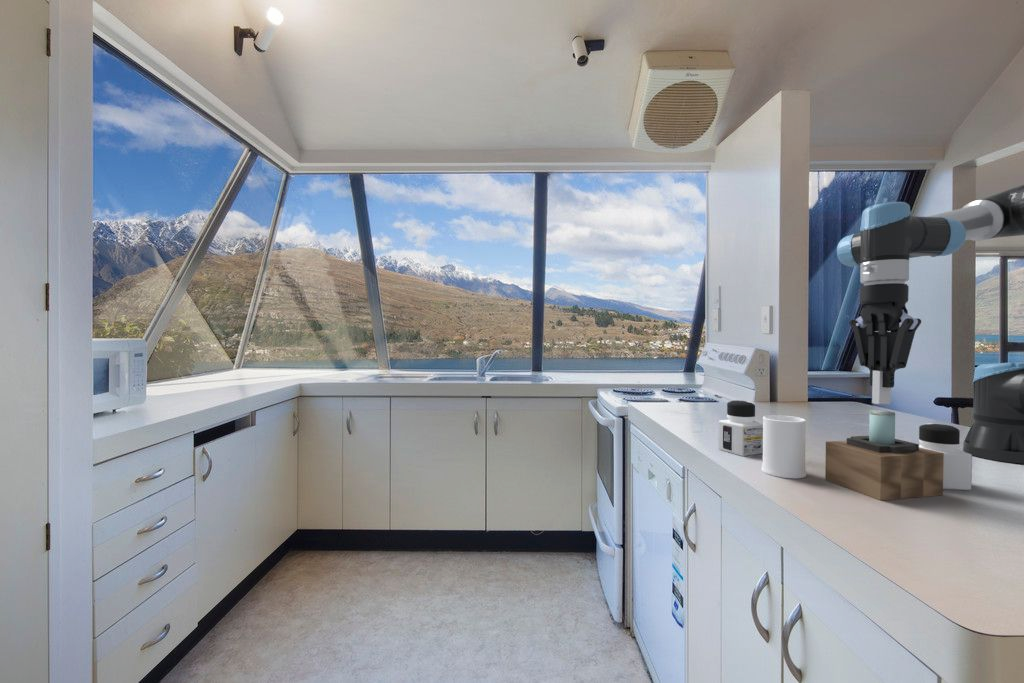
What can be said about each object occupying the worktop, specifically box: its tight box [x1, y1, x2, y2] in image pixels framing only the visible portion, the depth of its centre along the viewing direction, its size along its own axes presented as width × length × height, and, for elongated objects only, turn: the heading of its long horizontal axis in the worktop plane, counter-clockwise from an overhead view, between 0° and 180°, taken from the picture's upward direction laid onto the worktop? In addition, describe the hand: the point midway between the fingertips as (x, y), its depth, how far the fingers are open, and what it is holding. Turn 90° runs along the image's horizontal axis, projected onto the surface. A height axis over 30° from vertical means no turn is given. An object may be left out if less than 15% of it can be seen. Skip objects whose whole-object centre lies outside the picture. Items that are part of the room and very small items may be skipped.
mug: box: [761, 414, 807, 480], centre depth 104 cm, size 12×8×12 cm
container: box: [717, 399, 763, 457], centre depth 120 cm, size 8×8×13 cm
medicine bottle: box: [918, 422, 973, 491], centre depth 94 cm, size 7×7×12 cm
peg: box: [868, 409, 896, 445], centre depth 92 cm, size 4×4×9 cm
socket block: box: [824, 435, 944, 501], centre depth 92 cm, size 14×12×9 cm
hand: (881, 403), depth 92 cm, fingers closed
